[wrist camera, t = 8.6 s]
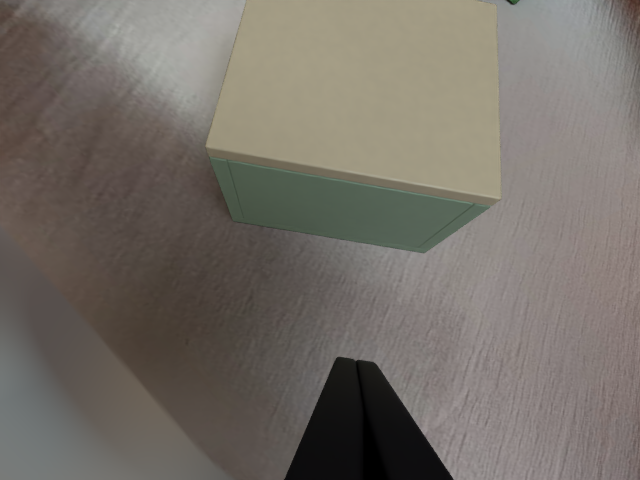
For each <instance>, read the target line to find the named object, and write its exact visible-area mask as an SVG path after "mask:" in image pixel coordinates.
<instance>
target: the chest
mask: <svg viewBox="0 0 640 480" xmlns="http://www.w3.org/2000/svg"><path fill="white" fill-rule="evenodd" d="M209 159H210V162H211V164H212V167H213V170H214V172H215V175H216V177H217V180H218V183H219V185H220V188H221V191H222V193H223V196H224V199H225V201H226V204H227V206H228V209H229V212H230V214H231V217H232V219H233V221H235V222H241V223H247V224H253V225H259V226H265V227H271V228H277V229H283V230H289V231H295V232H301V233H307V234H313V235H319V236H325V237H331V238H337V239H343V240H349V241H355V242H361V243H367V244H373V245H379V246H385V247H391V248H397V249H403V250H409V251H415V252H420V253H425V252H427V251H428V250H430V249H431V248H433V247H434V246H435V245H437V244H438V243H440V242H441V241H443V240H444V239H445V238H447V237H448V236H450V235H451V234H453V233H454V232H456V231H457V230H458V229H460V228H461V227H463V226H464V225H466V224H467V223H468V222H470V221H471V220H473V219H474V218H476V217H477V216H479V215H480V214H481V213H483V212H484V211H486V210H487V209H489V208H490V206H488V205H483V204H477V203H471V202H466V201H460V200H454V199H449V198H443V197H437V196H432V195H426V194H420V193H415V192H409V191H403V190H398V189H392V188H386V187H381V186H375V185H369V184H364V183H358V182H352V181H347V180H341V179H335V178H330V177H324V176H318V175H313V174H307V173H301V172H296V171H290V170H284V169H279V168H273V167H267V166H262V165H256V164H250V163H245V162H239V161H233V160H228V159H222V158H216V157H211V156H209Z"/></svg>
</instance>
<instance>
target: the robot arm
mask: <svg viewBox="0 0 640 480" xmlns="http://www.w3.org/2000/svg"><path fill="white" fill-rule="evenodd" d="M284 480H454V479H453V478H452V476H451V475H450V473H449V472H448V470H447V469H446V467H445V466H444V464H443V463H442V461H441V460H440V458H439V457H438V455H437V454H436V452H435V451H434V449H433V448H432V446H431V445H430V443H429V442H428V440H427V439H426V437H425V436H424V435H423V433H422V432H421V430H420V429H419V427H418V426H417V424H416V423H415V421H414V420H413V418H412V417H411V415H410V414H409V412H408V411H407V409H406V408H405V406H404V405H403V403H402V402H401V400H400V399H399V397H398V396H397V394H396V393H395V391H394V390H393V388H392V387H391V385H390V384H389V382H388V381H387V379H386V378H385V376H384V375H383V373H382V372H381V370H380V369H379V367H378V366H377V364H375V363H374V362H370V361H364V360H357V361H356V362H355V360H354V359H350V358H344V357H337V358H336V360H335V362H334V364H333V367H332V369H331V371H330V374H329V376H328V378H327V381H326V383H325V385H324V388H323V390H322V392H321V395H320V397H319V399H318V402H317V404H316V406H315V409H314V411H313V413H312V416H311V418H310V421H309V423H308V425H307V428H306V430H305V432H304V435H303V437H302V439H301V442H300V444H299V446H298V449H297V451H296V453H295V456H294V458H293V460H292V463H291V465H290V467H289V470H288V472H287V474H286V477H285V479H284Z"/></svg>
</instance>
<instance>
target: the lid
mask: <svg viewBox="0 0 640 480" xmlns="http://www.w3.org/2000/svg"><path fill="white" fill-rule="evenodd" d="M205 148H206V150H207V153H208V155H209V156H211V157H216V158H222V159H228V160H233V161H239V162H245V163H250V164H256V165H262V166H267V167H273V168H279V169H284V170H290V171H296V172H301V173H307V174H313V175H318V176H324V177H330V178H335V179H341V180H347V181H352V182H358V183H364V184H369V185H375V186H381V187H386V188H392V189H398V190H403V191H409V192H415V193H420V194H426V195H432V196H437V197H443V198H449V199H454V200H460V201H466V202H471V203H477V204H483V205H488V206H493V205H494V204H496V203H497V202H498V201H500V200H501V198H502V193H501V155H500V116H499V78H498V39H497V5H496V4H491V3H487V2H482V1H477V0H246V4H245V7H244V11H243V14H242V18H241V21H240V25H239V28H238V32H237V35H236V39H235V42H234V46H233V49H232V53H231V57H230V60H229V64H228V67H227V71H226V74H225V78H224V81H223V85H222V88H221V92H220V95H219V99H218V102H217V106H216V109H215V113H214V116H213V120H212V123H211V127H210V130H209V134H208V137H207V141H206V145H205Z"/></svg>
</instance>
